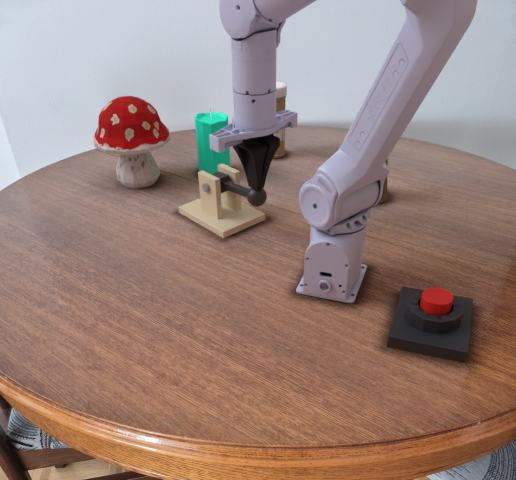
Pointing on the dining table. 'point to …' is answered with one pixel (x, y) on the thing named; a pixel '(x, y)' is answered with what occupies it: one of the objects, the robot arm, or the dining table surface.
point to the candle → (204, 128)
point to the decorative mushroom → (132, 139)
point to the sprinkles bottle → (280, 106)
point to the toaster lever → (241, 190)
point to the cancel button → (436, 301)
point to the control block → (431, 327)
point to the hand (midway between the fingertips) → (256, 186)
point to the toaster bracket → (221, 206)
